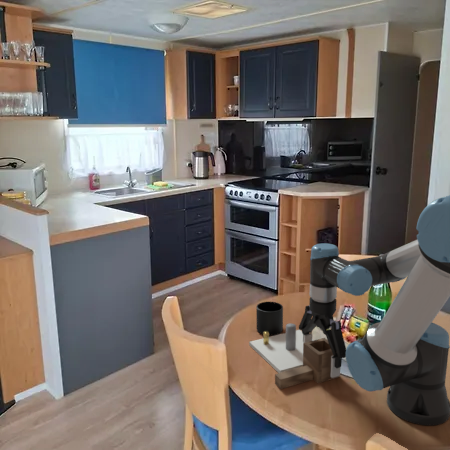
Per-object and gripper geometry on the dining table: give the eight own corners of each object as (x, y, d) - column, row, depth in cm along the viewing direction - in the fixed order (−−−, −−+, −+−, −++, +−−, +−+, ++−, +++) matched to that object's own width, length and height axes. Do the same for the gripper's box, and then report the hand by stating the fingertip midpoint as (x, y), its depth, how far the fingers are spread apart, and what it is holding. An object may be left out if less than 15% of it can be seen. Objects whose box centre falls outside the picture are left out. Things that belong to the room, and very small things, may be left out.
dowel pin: (269, 343, 148) (269, 332, 147) (265, 345, 147) (265, 334, 146) (267, 341, 150) (267, 330, 149) (262, 342, 149) (262, 331, 148)
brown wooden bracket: (323, 364, 137) (324, 337, 135) (339, 376, 130) (340, 348, 128) (271, 379, 130) (271, 351, 128) (284, 393, 123) (285, 364, 121)
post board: (334, 358, 140) (335, 331, 138) (280, 374, 132) (280, 346, 130) (299, 332, 158) (299, 308, 156) (249, 345, 150) (249, 319, 148)
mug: (275, 320, 169) (275, 297, 166) (286, 334, 157) (286, 310, 155) (251, 322, 167) (251, 300, 165) (260, 337, 155) (260, 313, 153)
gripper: (363, 311, 117) (359, 383, 122) (308, 281, 139) (307, 343, 144) (340, 317, 114) (337, 390, 119) (288, 285, 136) (287, 348, 141)
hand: (320, 364), depth 132 cm, fingers open, 13 cm apart
